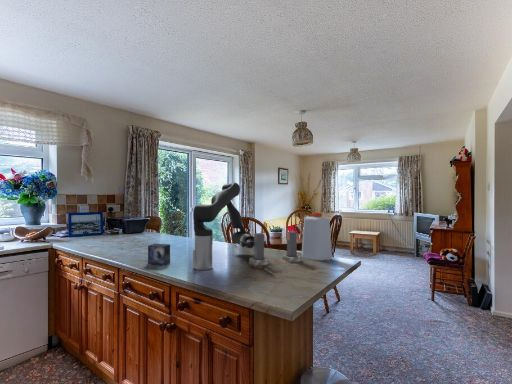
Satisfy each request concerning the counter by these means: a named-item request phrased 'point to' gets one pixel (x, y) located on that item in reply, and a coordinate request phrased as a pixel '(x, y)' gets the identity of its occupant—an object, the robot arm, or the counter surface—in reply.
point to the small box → (159, 254)
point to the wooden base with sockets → (273, 261)
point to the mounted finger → (291, 244)
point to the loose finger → (259, 246)
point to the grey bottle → (316, 238)
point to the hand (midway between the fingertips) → (257, 245)
